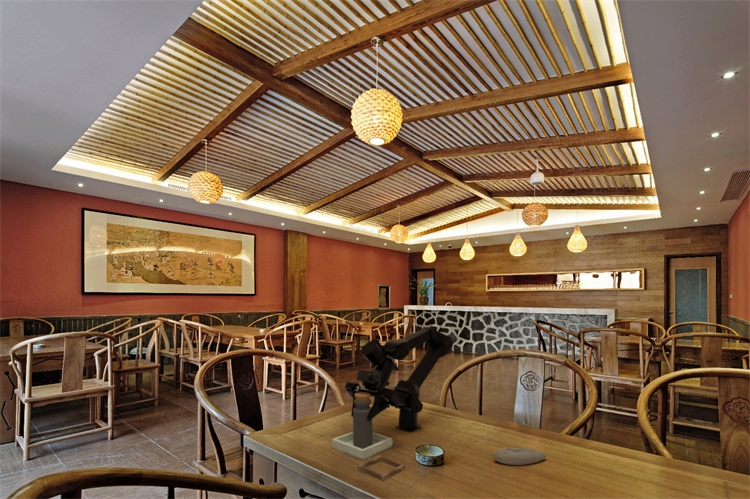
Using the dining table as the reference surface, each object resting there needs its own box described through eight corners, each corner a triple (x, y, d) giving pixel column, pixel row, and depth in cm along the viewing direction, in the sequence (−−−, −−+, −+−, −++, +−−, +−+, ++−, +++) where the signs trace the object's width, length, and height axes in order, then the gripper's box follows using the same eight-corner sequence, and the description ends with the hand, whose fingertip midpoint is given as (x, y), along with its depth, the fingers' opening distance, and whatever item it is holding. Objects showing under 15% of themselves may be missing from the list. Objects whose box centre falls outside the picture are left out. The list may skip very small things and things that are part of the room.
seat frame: (380, 459, 115) (380, 455, 115) (405, 468, 109) (405, 464, 109) (357, 469, 108) (357, 465, 108) (383, 480, 102) (383, 476, 102)
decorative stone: (551, 465, 112) (550, 452, 112) (498, 468, 109) (498, 455, 110) (538, 456, 118) (538, 443, 118) (488, 459, 115) (488, 446, 116)
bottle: (365, 450, 119) (365, 397, 120) (349, 446, 122) (349, 395, 123) (376, 443, 124) (375, 393, 125) (360, 439, 127) (359, 390, 128)
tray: (361, 436, 132) (361, 428, 132) (392, 446, 123) (392, 438, 123) (331, 447, 122) (331, 439, 123) (362, 460, 114) (362, 451, 114)
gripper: (348, 356, 134) (324, 398, 124) (394, 362, 123) (372, 409, 113) (363, 376, 139) (341, 417, 130) (409, 384, 128) (389, 430, 119)
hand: (359, 418), depth 123 cm, fingers closed on bottle, 6 cm apart
